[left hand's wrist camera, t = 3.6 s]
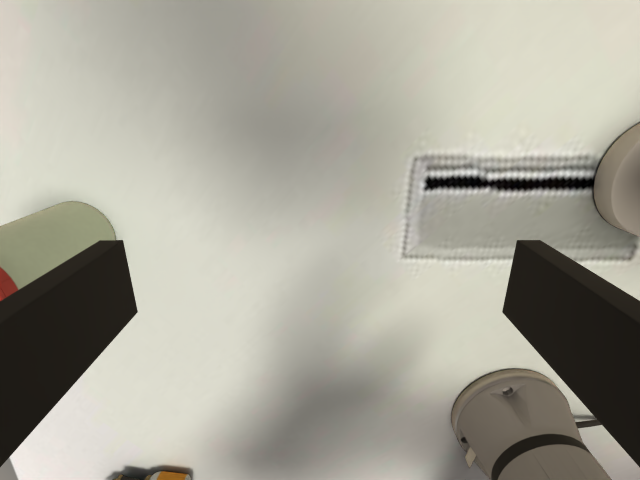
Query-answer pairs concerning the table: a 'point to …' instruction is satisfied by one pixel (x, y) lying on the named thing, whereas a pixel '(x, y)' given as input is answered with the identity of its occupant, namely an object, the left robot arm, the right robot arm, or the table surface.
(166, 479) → the spray gun
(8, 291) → the lid
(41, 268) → the jar
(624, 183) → the bust sculpture
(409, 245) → the table surface
